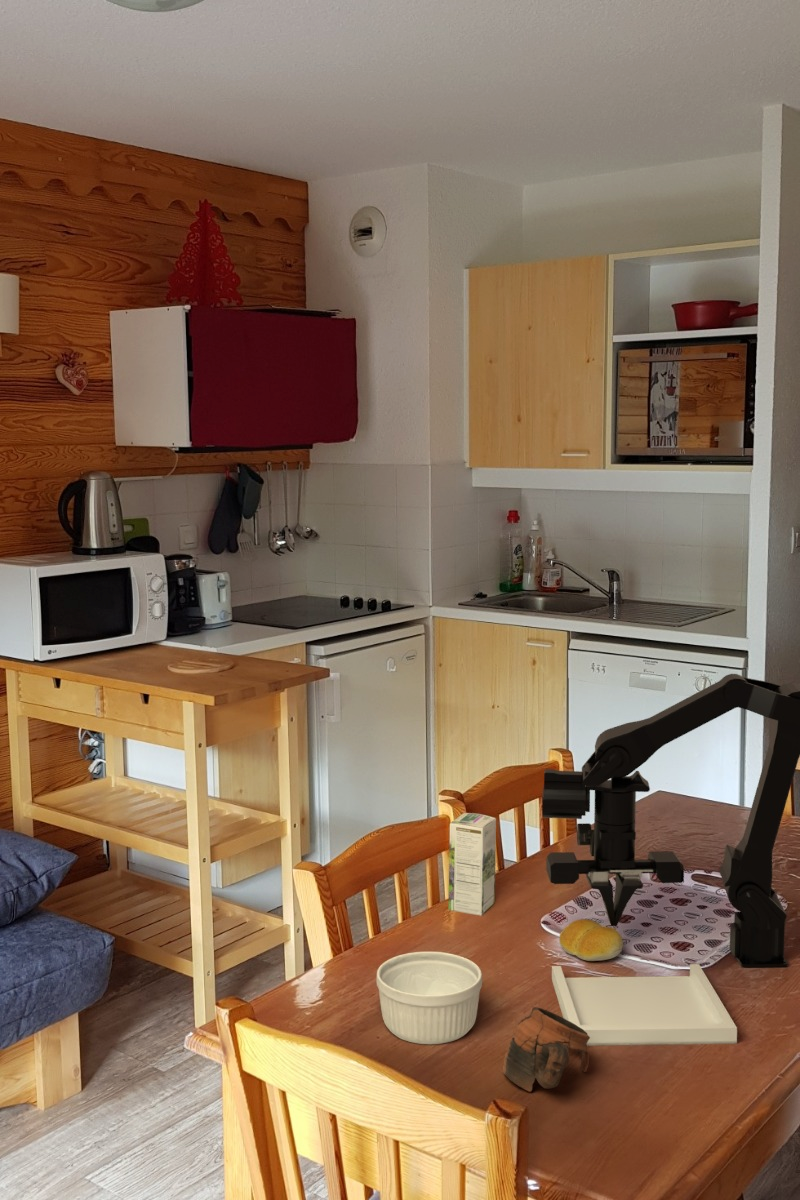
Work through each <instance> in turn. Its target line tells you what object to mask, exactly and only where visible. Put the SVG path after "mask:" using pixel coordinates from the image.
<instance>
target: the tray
mask: <svg viewBox="0 0 800 1200" xmlns="http://www.w3.org/2000/svg"><path fill="white" fill-rule="evenodd" d="M551 981H552V985H553V988H554V992H555V994H556V997H557V1002H558V1005H559V1008H560V1011H561V1015H562V1018H564V1019H566V1020H568V1021H570V1022H572V1023H573V1024H575V1025H577V1026H578V1027H580V1028H581V1029H583V1030H584V1031H585V1032H586V1033H587V1035H588V1036H589V1037H590V1039H589V1040H588V1042H587V1047H588V1046H590V1047H591V1046H592V1047H593V1046H595V1047H596V1046H642V1045H643V1046H647V1045H648V1046H650V1045H651V1046H658V1045H660V1046H661V1045H663V1046H664V1045H668V1046H670V1045H671V1046H672V1045H673V1046H674V1045H725V1044H726V1045H727V1044H728V1045H729V1044H731V1045H732V1044H733V1045H736V1044H738V1039H737V1038H738V1026H736V1024H735V1023H734V1020H733V1019H732V1017H731V1015H730V1013H729V1012H728V1011H727V1009H726V1006H724V1004H723V1002H722V1001H721V999H720V996H719V995H718V994H717V992H716V990H715V989H714V987H713V986H712V984H711V982H710V981H709V979H708V977H707V975H706V974H705V972H704V970H703V969H702V967H701V965H700V963H698V964H697V963H693V964H691V963H690V964H689V975H685V976H684V975H683V976H680V975H678V976H677V975H676V976H674V975H673V976H670V975H669V976H615V977H614V976H608V977H607V976H605V977H604V976H601V977H600V976H597V977H596V976H593V977H588V976H586V977H565V974H564V972H563V968H562V965H552V966H551Z"/></svg>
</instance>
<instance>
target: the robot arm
mask: <svg viewBox="0 0 800 1200" xmlns="http://www.w3.org/2000/svg"><path fill="white" fill-rule="evenodd" d="M736 708H738V709H739V708H740V709H743V710H747V711H749V712H751V713H754V714H757V715H760V716H763V717H766V718H768V748H767V751H766V754H765V758H764V762H763V766H762V768H761V773H760V775H759V776H760V777H759V779H758V783H757V787H756V791H755V792H754V793H755V794H754V797H753V801H752V805H751V808H750V812H749V814H748V817H747V818H748V819H747V823H746V826H745V829H744V832H743V836H742V838H741V840H740V841H739V842H738V844H737V845H736V847H734V846H732V845H729V844H726V845H725V849H724V856H723V857H724V858H723V861H722V864H721V865H720V866H719V867H718V870H719V871H718V872H719V874H720V876H721V880H722V881H721V882H722V884H723V887H724V888H723V889H724V890H725V892H726V895H727V898H728V900H729V903H730V904H731V906H732V907H733V908H734V909H735V910H737V911H734V920H733V921H734V922H731V923H730V928H729V929H730V932H729V951H730V953H731V954H732V955H733V957H734V958H735V959H736V960H737V963H739V964H740V966H741V967H742V968H777V967H778V968H784V967H788V966H789V961H788V960H787V959H786V958H785V939H786V938H785V934H786V933H785V932H786V919H787V917H788V916H787V914H786V911H785V909H784V907H783V905H782V903H781V900H780V898H779V896H778V894H777V892H776V891H775V890H774V889H773V888H772V885H773V884H772V883H773V852H774V851H773V850H774V846H775V844H776V839H777V836H778V832H779V829H780V827H781V826H780V825H781V821H782V819H783V815H784V811H785V808H786V804H787V802H788V797H789V793H790V791H791V786H792V784H793V780H794V777H795V773H796V769H797V766H798V762H799V760H800V683H798V682H788V683H784V684H782V685H781V684H777V683H774V682H770V681H766V680H759V679H754V678H748V677H746V676H742V675H740V674H738V673H729V674H726V675H725V676H723V677H722V678H721V679H720V680H719V681H717V682H715V683H712V684H711V685H709V686H707V687H706V688H703V689H702V690H700V691H698V692H696V693H693V694H692V695H690V696H689V697H686V698H685V699H683V700H681V701H679V702H677V703H675V704H673V705H671V706H669V707H667V708H665V709H664V710H661V711H660V712H657V713H656V714H653V715H652V716H650V717H648V718H645V719H641V720H635V721H631V722H625V723H623V724H621V725H620V724H619V725H617V726H614V727H610V728H607V729H605V730H604V731H602V732H601V733H600V734H599V735H598V736H597V738H596V741H595V744H594V751H593V753H592V754H591V755H590V756H589V758H588V759H587V760H586V762H585V763H584V764H583V765H582V767H581V770H579V771H577V770H575V771H573V770H557V769H553V768H552V769H550V768H548V769H547V768H546V769H545V770H544V772H543V787H542V796H541V797H542V798H541V799H542V800H541V804H542V807H541V809H542V810H541V817H542V818H543V819H544V818H545V819H571V820H575V819H576V820H582V818H583V816H584V817H585V816H587V813H590V812H591V791H594V814H593V815H594V816H593V817H594V824H593V825H594V826H593V829H592V824H591V823H577V824H576V843H577V846H589V852H590V856H591V857H593V859H577V857H576V854H575V852H574V851H571V852H570V851H569V852H567V851H565V852H564V851H563V852H560V851H559V852H557V851H556V852H554V851H553V852H550V853H549V854H547V856H546V859H545V861H546V862H545V863H546V866H545V868H546V873H547V875H548V878H549V881H550V884H554V885H571V884H572V885H575V883H576V882H577V881H578V880H579V879H580V875H585V876H586V879H587V881H588V884H589V886H590V888H591V889H593V890H598V891H599V893H600V896H601V899H602V902H603V905H604V908H605V912H606V914H607V917H608V921H609V924H610V926H611V927H617V926H618V924H619V922H620V920H621V918H622V916H623V913H624V911H625V909H626V907H627V905H628V903H629V902H630V900H631V898H632V897H633V895H634V894H635V892H636V890H640V889H641V890H642V889H643V887H644V884H643V882H642V880H641V878H642V877H643V875H642V874H655V875H656V876H655V877H656V879H658V880H659V881H660V882H661V883H662V884H681V883H684V882H685V868H684V864H683V863H682V862H681V859H680V858H679V857H678V856H677V854H676V853H675V852H674V851H669V850H668V851H666V850H665V851H649V852H648V855H647V859H636V832H637V831H636V805H637V802H636V799H637V798H636V797H637V792H638V793H639V792H641V793H649V792H650V790H651V788H650V784H649V781H648V780H647V779H646V778H644V777H643V775H641V773H640V771H639V770H637V769H638V768H640V767H641V766H642V765H643V764H645V763H646V762H647V761H648V760H649V759H651V757H652V756H653V755H654V754H655V753H656V752H657V751H658V750H660V749H661V748H663V747H664V746H665V745H667V744H669V743H671V742H672V741H675V740H677V739H678V738H680V737H683V736H684V735H686V734H688V733H690V732H692V731H694V730H696V729H697V728H700V727H702V726H703V725H705V724H707V723H709V722H711V721H713V720H714V719H717V718H719V717H721V716H723V715H724V714H726V713H729V712H730V711H732V710H734V709H736ZM633 772H634V773H633ZM630 774H632V775H630ZM611 874H612V875H614V874H615V888H614V889H615V890H614V889H613V884H612V882H611V880H610V875H611ZM613 890H614V892H613Z"/></svg>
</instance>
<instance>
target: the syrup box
mask: <svg viewBox="0 0 800 1200" xmlns="http://www.w3.org/2000/svg"><path fill="white" fill-rule="evenodd" d="M496 832H497V818H496V817H494V816H490V815H486V814H481V813H476V812H475V813H474V812H472V813H471V812H463V813H462V814H460V815H459V816H458V817H457V818H456V819H454V820H453V821H451V822H450V823H449V844H448V845H449V847H448V848H449V849H448V851H449V853H448V855H449V856H448V857H449V859H448V861H449V862H448V863H449V864H448V910H449V911H452V912H456V913H457V912H458V913H463V914H468V915H474V916H475V915H476V916H481V917H482V916H483V915H484V914H486V912H487V911H488V910H489V909H490V908H491V907H493V906H494V905H495V902H496V901H495V899H496V898H495V897H496V891H495V890H496V852H497V850H496V849H497V846H496V843H497V842H496V841H497V837H496V836H497V835H496V834H497V833H496Z"/></svg>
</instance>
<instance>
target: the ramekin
mask: <svg viewBox="0 0 800 1200" xmlns="http://www.w3.org/2000/svg"><path fill="white" fill-rule="evenodd" d="M482 986H483V974H482V971H481V968H480V967H479V966H478V964H476V962H474V961H472V960H471V959H468V958H466V957H463V956H462V955H461V956H460V955H458V954H454V953H449V952H444V951H415V952H408V953H404V954H400V955H397V956H394V957H391V958H389V959H388V960H386V961H384V962H383V963H382V964H380V966H379V967H378V968H377V970H376V987H377V988H378V995H379V1002H380V1010H381V1015H382V1019H383V1022H384V1023H383V1024H384V1025H385V1026H386V1028H387V1029H388V1030H389V1031H390V1033H392V1034H393V1035H395V1037H397V1038H399V1039H401V1040H403V1041H406V1042H410V1043H413V1044H421V1045H441V1044H446V1043H450V1042H454V1041H456V1040H459V1039H461V1038H462V1037H464V1036H465V1035H466V1034H467V1033H469V1031H470V1030H471V1029H472V1028H473V1026H474V1025H475V1023H476V1019H477V1015H478V1008H479V999H480V990H481V989H482Z"/></svg>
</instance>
